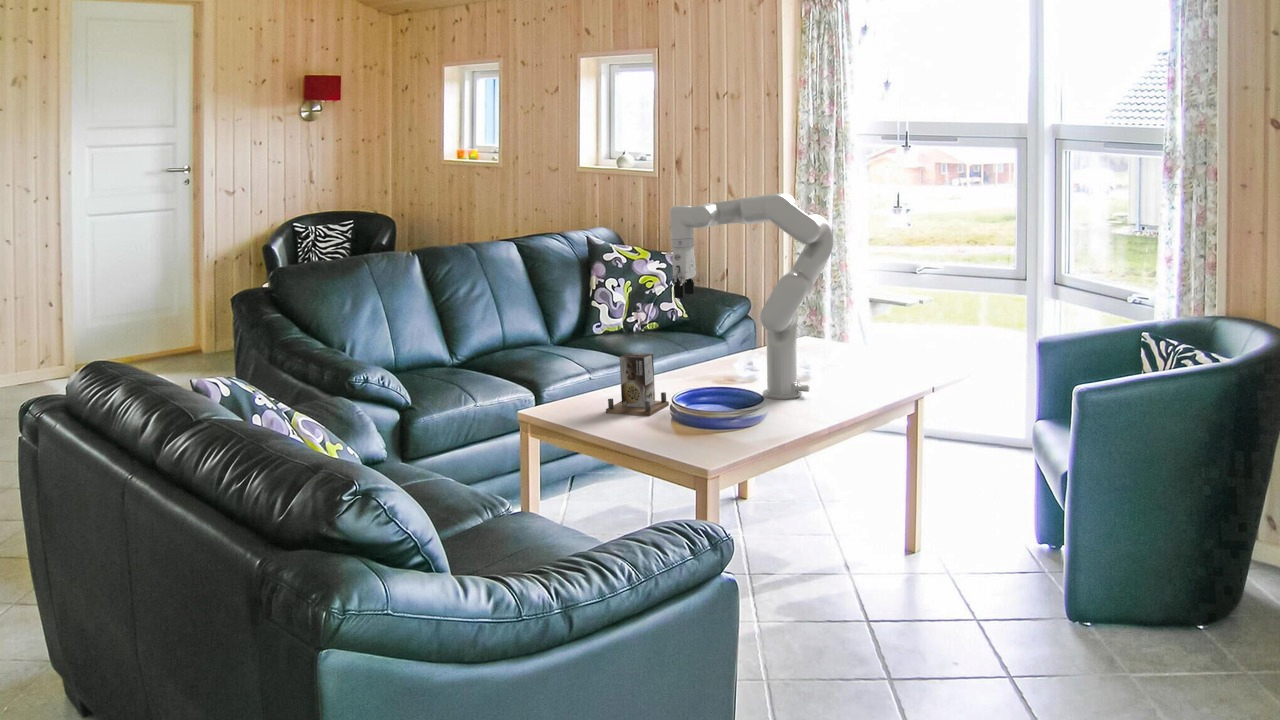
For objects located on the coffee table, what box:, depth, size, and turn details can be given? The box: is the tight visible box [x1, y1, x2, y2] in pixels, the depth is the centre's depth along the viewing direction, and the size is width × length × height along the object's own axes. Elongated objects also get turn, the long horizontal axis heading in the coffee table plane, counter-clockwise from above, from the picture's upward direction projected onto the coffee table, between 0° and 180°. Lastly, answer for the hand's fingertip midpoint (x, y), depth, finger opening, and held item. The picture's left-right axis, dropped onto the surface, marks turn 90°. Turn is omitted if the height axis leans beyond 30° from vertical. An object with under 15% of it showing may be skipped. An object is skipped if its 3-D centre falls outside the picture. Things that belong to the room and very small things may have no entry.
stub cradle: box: [605, 391, 670, 417], centre depth 379 cm, size 15×15×4 cm
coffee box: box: [618, 352, 656, 408], centre depth 377 cm, size 9×6×16 cm
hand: (684, 295), depth 395 cm, fingers open, 9 cm apart
